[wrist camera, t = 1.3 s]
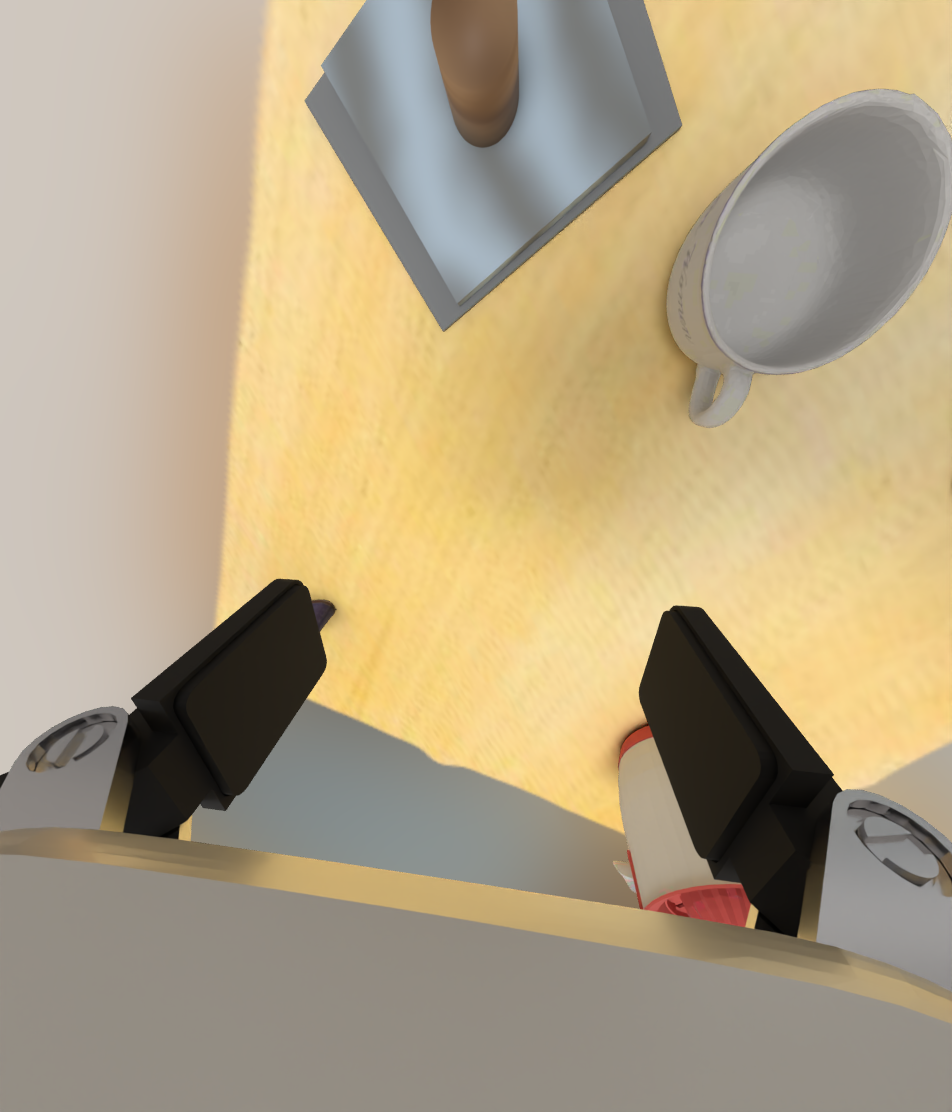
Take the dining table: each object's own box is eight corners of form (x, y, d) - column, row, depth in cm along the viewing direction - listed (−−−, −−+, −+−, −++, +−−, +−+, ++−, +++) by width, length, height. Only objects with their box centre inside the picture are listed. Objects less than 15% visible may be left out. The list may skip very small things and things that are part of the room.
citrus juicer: (574, 727, 46) (605, 945, 28) (716, 694, 40) (865, 940, 23) (614, 793, 51) (661, 1010, 34) (744, 772, 46) (882, 1019, 28)
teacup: (732, 140, 21) (840, 17, 14) (872, 236, 22) (1038, 169, 15) (595, 375, 27) (620, 374, 20) (708, 440, 28) (769, 461, 21)
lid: (528, -193, 16) (530, -479, 11) (645, 144, 21) (687, 62, 15) (330, 81, 21) (264, -22, 16) (459, 306, 26) (442, 287, 20)
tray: (560, -249, 16) (561, -263, 16) (679, 129, 21) (682, 125, 20) (307, 105, 22) (304, 100, 22) (443, 331, 27) (442, 331, 27)
